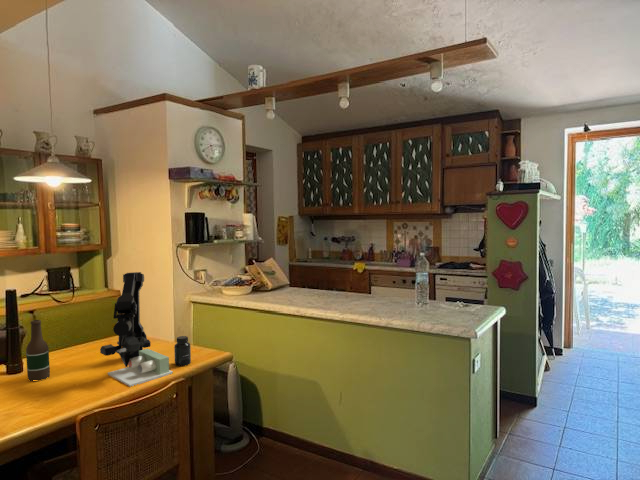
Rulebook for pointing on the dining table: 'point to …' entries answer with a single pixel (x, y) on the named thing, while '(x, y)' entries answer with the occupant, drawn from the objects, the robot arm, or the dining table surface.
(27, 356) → the beer bottle
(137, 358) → the knob
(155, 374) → the mount
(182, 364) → the supplement bottle
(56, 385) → the dining table surface
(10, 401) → the dining table surface
